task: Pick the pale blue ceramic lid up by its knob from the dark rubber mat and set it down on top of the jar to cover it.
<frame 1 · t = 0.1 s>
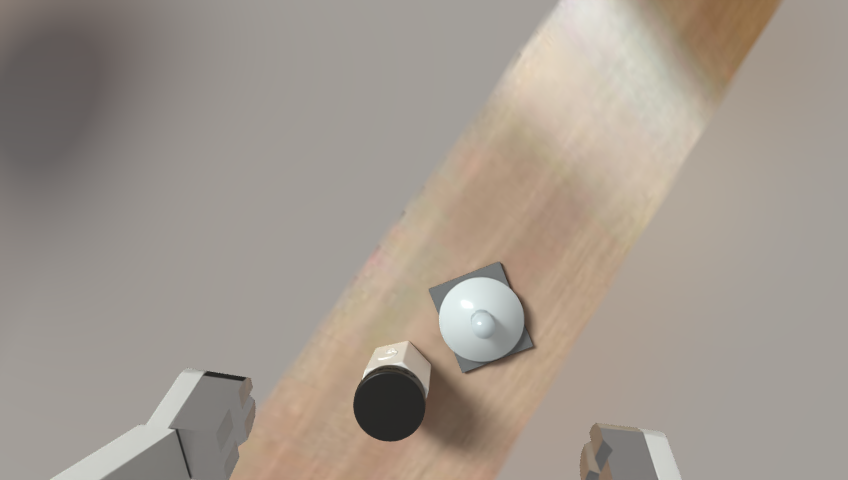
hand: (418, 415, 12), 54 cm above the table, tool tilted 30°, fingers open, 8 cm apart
lid: (480, 318, 66), point 1 cm above the table, touching mat
mat: (480, 316, 66), on the table
jar: (399, 370, 68), on the table
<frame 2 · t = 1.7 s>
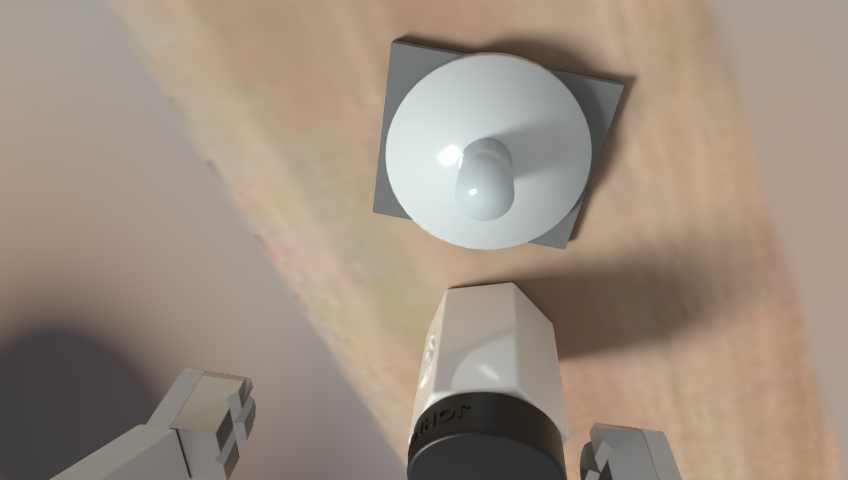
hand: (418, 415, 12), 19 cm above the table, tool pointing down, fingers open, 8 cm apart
lid: (486, 155, 28), point 1 cm above the table, touching mat
mat: (486, 150, 29), on the table
jar: (488, 326, 35), on the table
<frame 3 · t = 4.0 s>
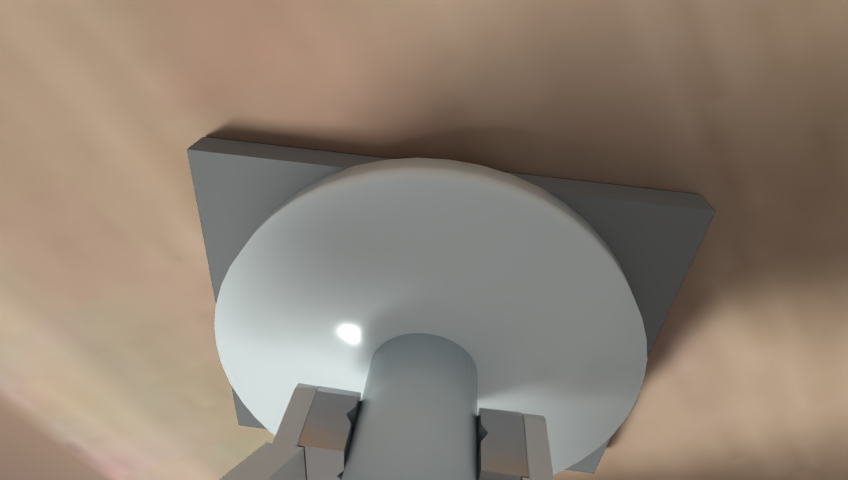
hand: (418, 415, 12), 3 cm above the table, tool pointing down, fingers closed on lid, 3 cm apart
lid: (427, 340, 14), point 1 cm above the table, touching gripper, mat
mat: (429, 321, 15), on the table
when the fingers open (16 cm above the table, at t = 7.6 s): lid drops 2 cm, resting on jar.
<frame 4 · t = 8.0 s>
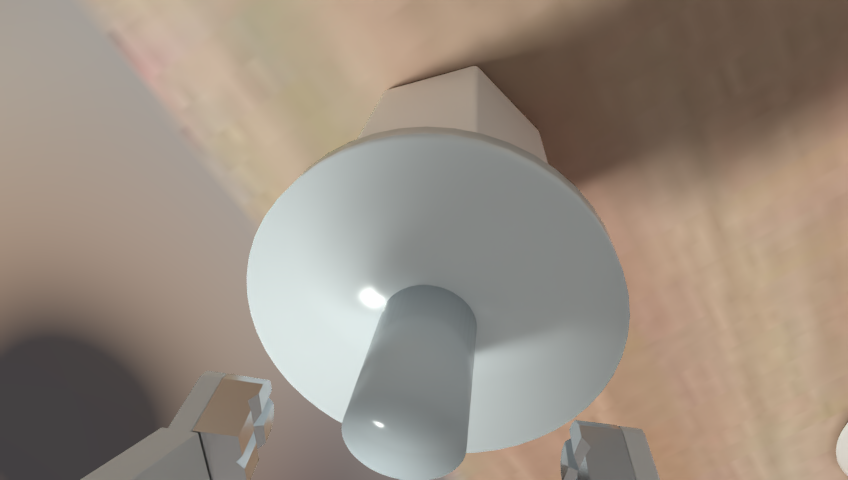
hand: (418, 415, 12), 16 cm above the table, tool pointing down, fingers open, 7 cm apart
lid: (433, 300, 15), point 12 cm above the table, touching jar
jar: (450, 150, 26), on the table, touching lid
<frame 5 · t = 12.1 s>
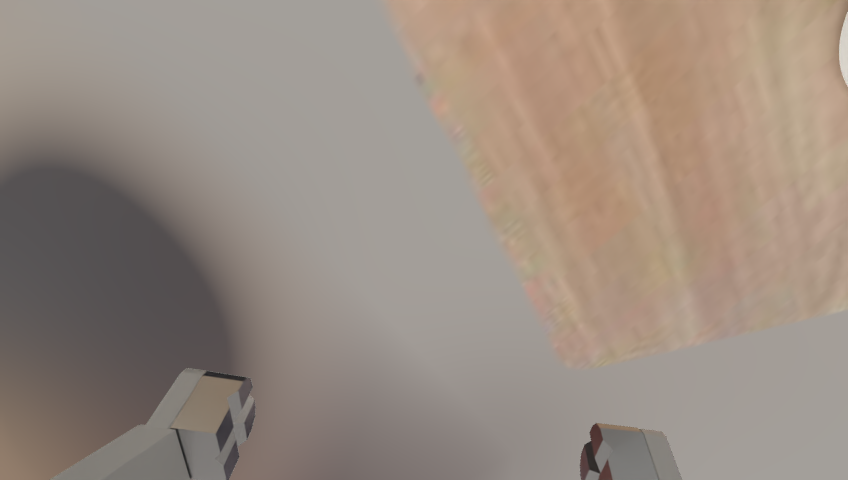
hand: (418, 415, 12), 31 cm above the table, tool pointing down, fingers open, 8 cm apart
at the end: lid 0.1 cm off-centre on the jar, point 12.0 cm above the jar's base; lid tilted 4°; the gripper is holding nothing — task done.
